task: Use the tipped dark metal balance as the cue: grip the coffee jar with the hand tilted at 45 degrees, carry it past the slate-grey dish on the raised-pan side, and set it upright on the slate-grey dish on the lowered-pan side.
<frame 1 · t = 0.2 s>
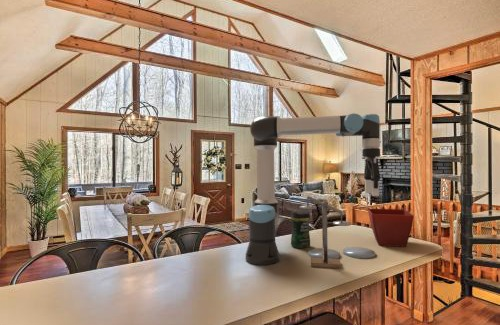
hand: (371, 194, 129), 28 cm above the kitchen counter, tool pointing down, fingers open, 13 cm apart
left dish: (323, 255, 130), on the kitchen counter
right dish: (358, 253, 132), on the kitchen counter
coffee jar: (300, 246, 145), on the kitchen counter
plant pot: (389, 243, 149), on the kitchen counter
balance: (325, 264, 118), on the kitchen counter
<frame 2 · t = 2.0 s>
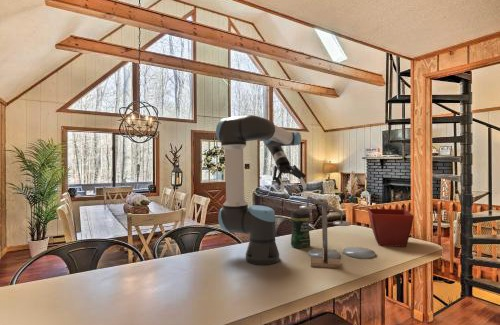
hand: (294, 188, 153), 29 cm above the kitchen counter, tool tilted 45°, fingers open, 13 cm apart
nothing on the kitchen counter moved.
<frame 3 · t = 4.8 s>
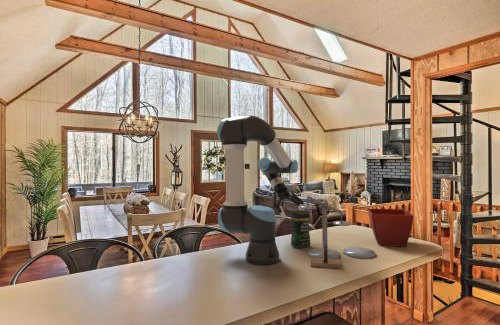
hand: (294, 216, 152), 14 cm above the kitchen counter, tool tilted 45°, fingers open, 13 cm apart
nothing on the kitchen counter moved.
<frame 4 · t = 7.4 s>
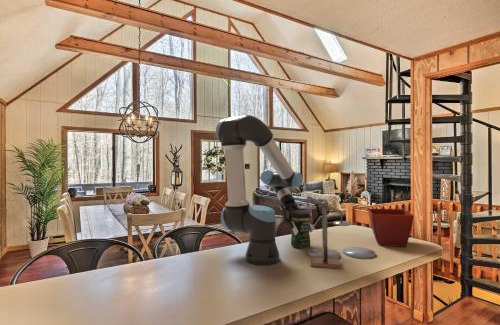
hand: (304, 232, 143), 8 cm above the kitchen counter, tool tilted 45°, fingers closed on coffee jar, 9 cm apart
coffee jar: (300, 246, 145), on the kitchen counter, touching gripper
everything else where it was.
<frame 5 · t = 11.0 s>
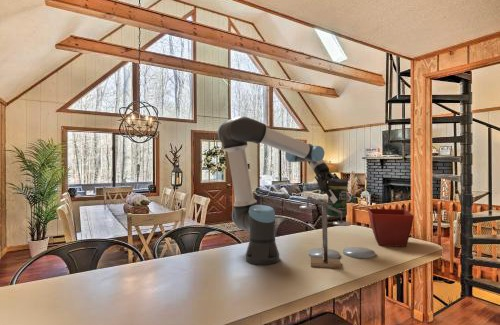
hand: (342, 200, 138), 24 cm above the kitchen counter, tool tilted 40°, fingers closed on coffee jar, 9 cm apart
coffee jar: (337, 216, 141), point 16 cm above the kitchen counter, touching gripper
everything else where it was.
when the fingers open (10 cm above the kitchen counter, at t = 15.0 s): coffee jar drops 1 cm, resting on right dish.
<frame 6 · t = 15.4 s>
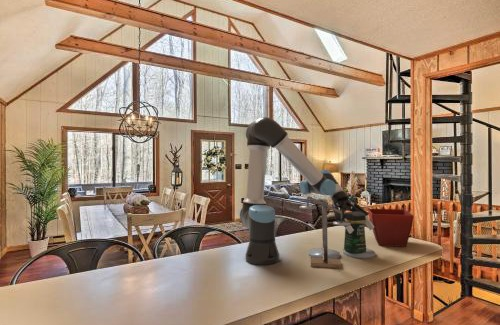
hand: (362, 230, 130), 11 cm above the kitchen counter, tool tilted 45°, fingers open, 13 cm apart
coffee jar: (355, 251, 131), point 1 cm above the kitchen counter, touching gripper, right dish
everything else where it was.
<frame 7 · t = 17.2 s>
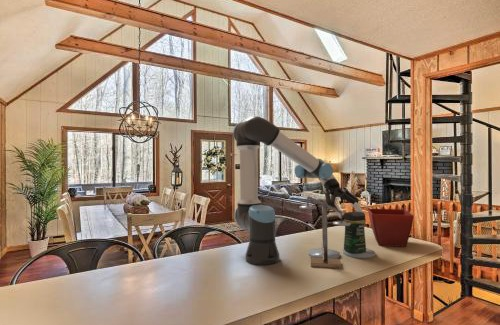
hand: (351, 215, 136), 17 cm above the kitchen counter, tool tilted 45°, fingers open, 13 cm apart
coffee jar: (355, 251, 131), point 1 cm above the kitchen counter, touching right dish
everything else where it was.
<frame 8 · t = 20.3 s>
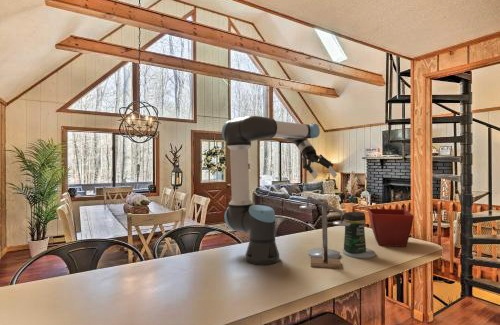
hand: (326, 176, 149), 36 cm above the kitchen counter, tool tilted 45°, fingers open, 13 cm apart
nothing on the kitchen counter moved.
at the end: coffee jar 1.9 cm off-centre on the right dish, point 1.0 cm above the right dish's base; coffee jar tilted 0°; coffee jar touching right dish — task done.
